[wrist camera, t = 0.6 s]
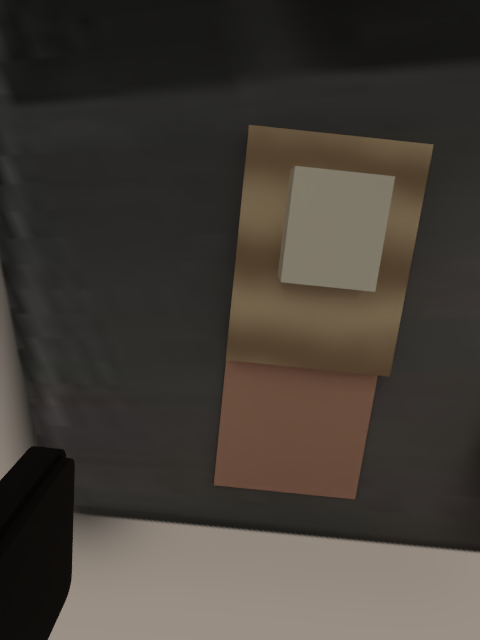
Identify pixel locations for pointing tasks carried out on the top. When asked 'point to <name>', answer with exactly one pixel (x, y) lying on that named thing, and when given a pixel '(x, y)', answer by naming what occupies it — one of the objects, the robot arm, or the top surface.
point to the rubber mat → (293, 429)
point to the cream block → (334, 228)
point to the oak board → (317, 301)
